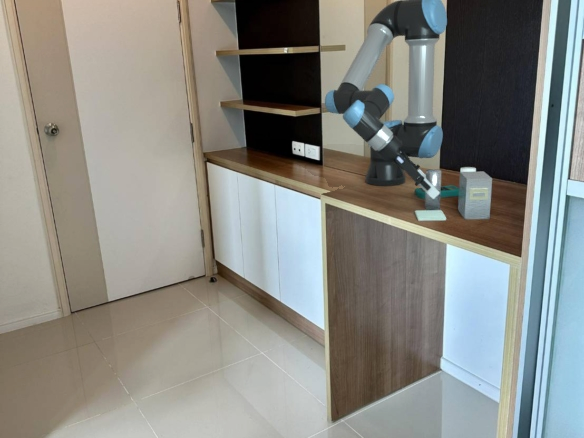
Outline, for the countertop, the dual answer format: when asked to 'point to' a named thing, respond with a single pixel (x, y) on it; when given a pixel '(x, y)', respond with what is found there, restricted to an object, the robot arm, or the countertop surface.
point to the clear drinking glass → (435, 180)
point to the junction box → (474, 195)
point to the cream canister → (468, 169)
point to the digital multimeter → (445, 192)
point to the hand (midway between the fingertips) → (433, 190)
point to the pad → (429, 215)
